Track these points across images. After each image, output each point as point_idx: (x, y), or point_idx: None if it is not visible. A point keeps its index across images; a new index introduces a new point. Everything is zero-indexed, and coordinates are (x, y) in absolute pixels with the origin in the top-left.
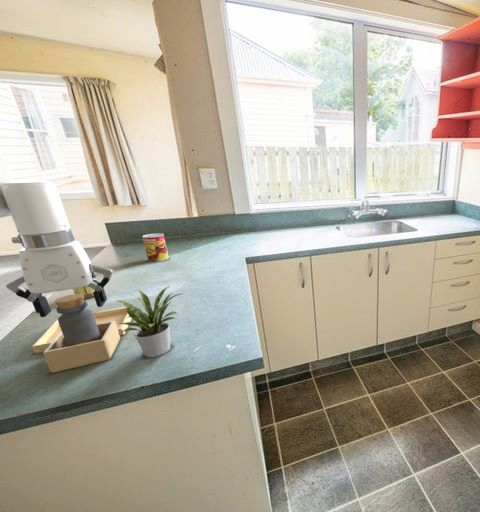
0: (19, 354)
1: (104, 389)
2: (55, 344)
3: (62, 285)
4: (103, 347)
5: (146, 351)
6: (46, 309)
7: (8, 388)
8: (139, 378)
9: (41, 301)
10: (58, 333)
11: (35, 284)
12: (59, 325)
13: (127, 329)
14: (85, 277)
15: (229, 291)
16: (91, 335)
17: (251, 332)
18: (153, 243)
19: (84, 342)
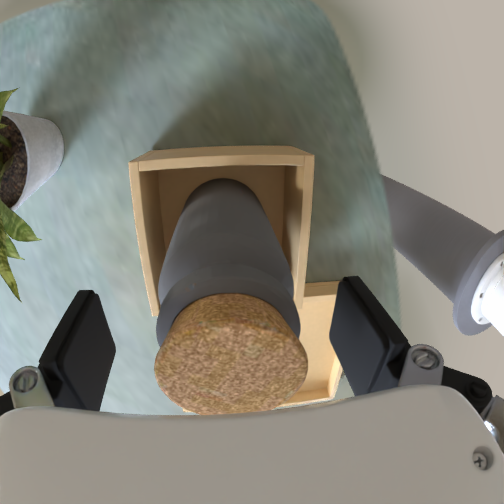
0: (380, 289)
1: (129, 2)
2: (298, 221)
3: (193, 468)
4: (144, 156)
5: (41, 119)
6: (344, 325)
7: (364, 123)
8: (61, 27)
9: (373, 355)
10: (325, 351)
11: (455, 467)
12: (329, 381)
13: (1, 108)
14: None
15: None
16: (182, 216)
17: None
18: None
19: (205, 194)
